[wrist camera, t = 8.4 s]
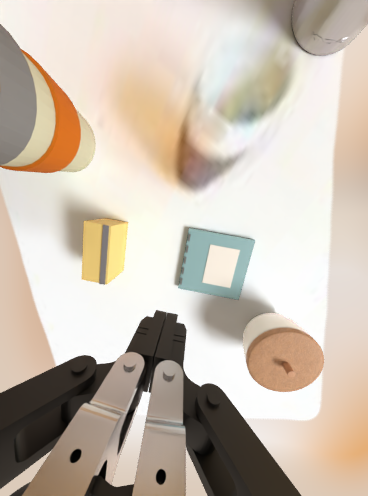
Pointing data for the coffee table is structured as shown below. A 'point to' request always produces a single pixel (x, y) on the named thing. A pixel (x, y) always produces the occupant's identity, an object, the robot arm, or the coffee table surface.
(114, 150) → the coffee table surface
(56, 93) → the reusable coffee cup
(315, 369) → the lidded jar
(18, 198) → the coffee table surface
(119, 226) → the yellow box with stripe
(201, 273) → the spiral notebook
